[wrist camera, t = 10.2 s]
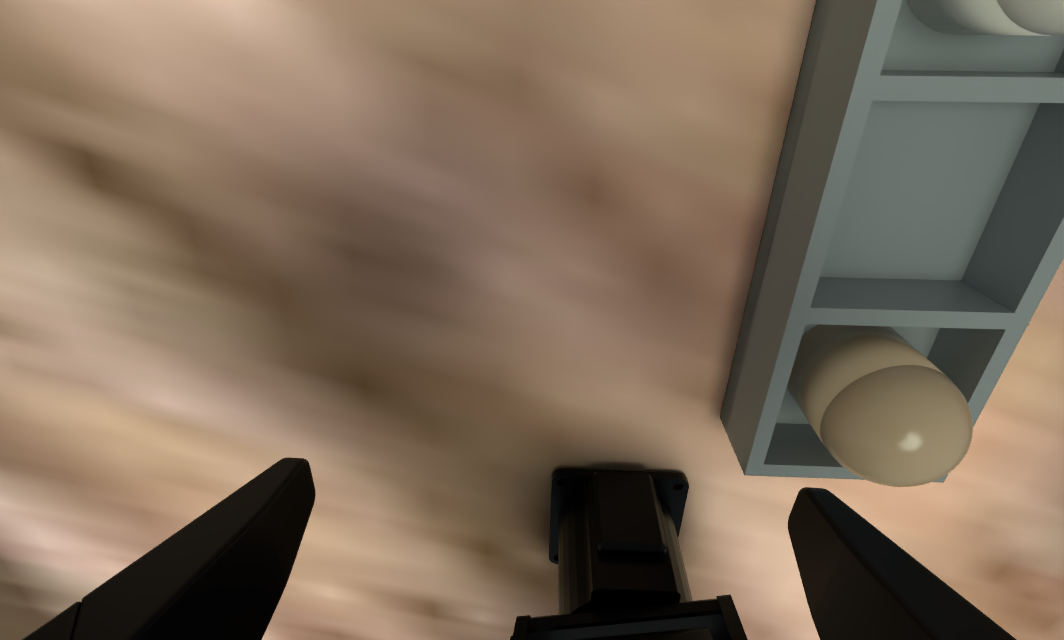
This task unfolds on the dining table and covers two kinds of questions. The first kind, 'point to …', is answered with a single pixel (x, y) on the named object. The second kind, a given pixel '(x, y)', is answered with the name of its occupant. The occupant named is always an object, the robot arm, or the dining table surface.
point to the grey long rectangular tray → (901, 213)
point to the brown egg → (880, 404)
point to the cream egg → (991, 16)
